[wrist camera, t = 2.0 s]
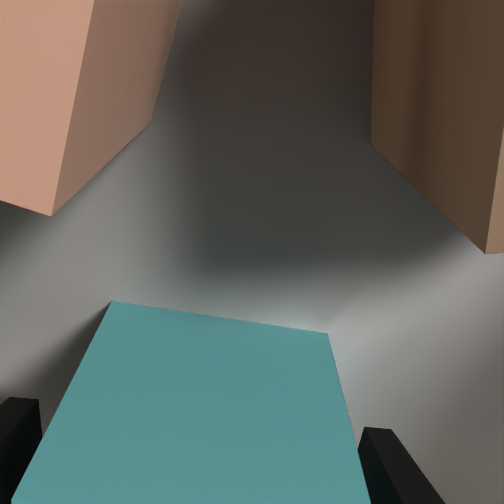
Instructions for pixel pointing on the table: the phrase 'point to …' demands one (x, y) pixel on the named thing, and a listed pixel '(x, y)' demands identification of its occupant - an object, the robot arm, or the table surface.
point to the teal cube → (198, 417)
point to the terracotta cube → (75, 89)
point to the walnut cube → (444, 106)
